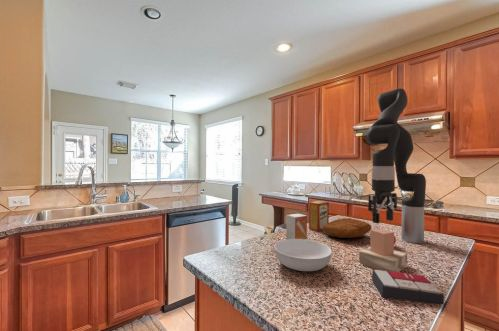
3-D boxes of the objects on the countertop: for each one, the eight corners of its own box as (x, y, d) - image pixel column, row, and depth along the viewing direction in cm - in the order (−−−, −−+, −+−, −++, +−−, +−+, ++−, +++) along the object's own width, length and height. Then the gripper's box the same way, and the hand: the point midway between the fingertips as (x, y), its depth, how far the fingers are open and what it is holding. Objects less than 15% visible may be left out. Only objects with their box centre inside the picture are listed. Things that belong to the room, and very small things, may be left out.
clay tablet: (346, 229, 138) (346, 215, 138) (375, 237, 124) (375, 222, 124) (319, 235, 126) (319, 220, 126) (348, 245, 112) (348, 227, 112)
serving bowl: (298, 284, 75) (298, 262, 75) (263, 260, 93) (263, 243, 93) (344, 271, 84) (344, 251, 84) (305, 251, 103) (305, 235, 103)
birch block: (373, 256, 98) (373, 244, 98) (407, 266, 89) (407, 253, 89) (359, 264, 91) (359, 251, 91) (393, 275, 81) (393, 261, 81)
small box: (295, 245, 111) (295, 217, 111) (285, 241, 116) (285, 214, 116) (307, 242, 115) (307, 215, 115) (297, 238, 121) (297, 213, 121)
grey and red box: (444, 292, 64) (383, 283, 67) (443, 308, 64) (382, 298, 67) (424, 274, 75) (372, 267, 78) (423, 288, 75) (371, 280, 78)
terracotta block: (380, 248, 93) (380, 228, 93) (393, 253, 88) (393, 232, 88) (370, 251, 91) (370, 230, 91) (383, 256, 86) (383, 234, 86)
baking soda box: (318, 231, 134) (318, 203, 134) (309, 229, 139) (309, 201, 139) (328, 228, 140) (328, 201, 140) (319, 226, 145) (319, 200, 145)
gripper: (384, 177, 96) (384, 217, 97) (361, 178, 89) (361, 221, 90) (404, 178, 90) (404, 221, 90) (381, 179, 83) (381, 226, 83)
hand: (383, 221), depth 90 cm, fingers open, 8 cm apart
